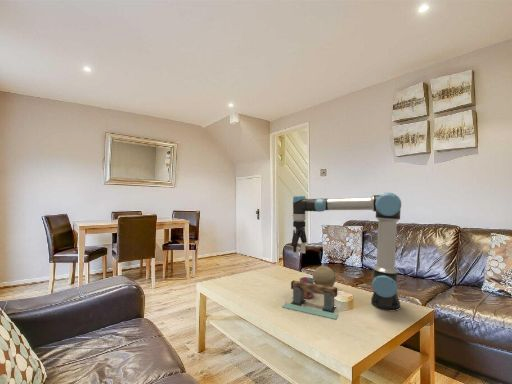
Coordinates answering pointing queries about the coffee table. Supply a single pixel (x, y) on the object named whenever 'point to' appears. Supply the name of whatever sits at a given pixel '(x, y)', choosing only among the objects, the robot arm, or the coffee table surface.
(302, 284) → the rail
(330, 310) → the post
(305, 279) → the mug
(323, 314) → the mat
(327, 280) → the decorative ball
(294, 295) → the post
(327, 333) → the coffee table surface
